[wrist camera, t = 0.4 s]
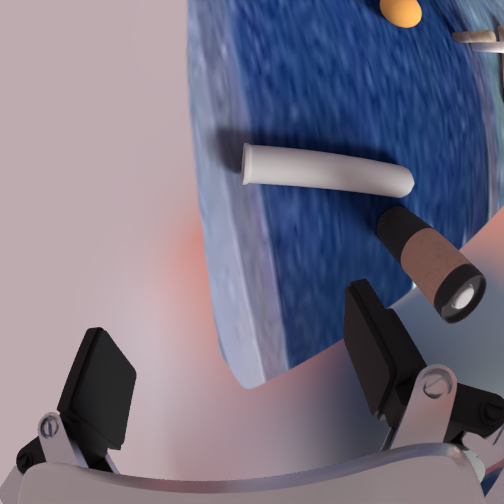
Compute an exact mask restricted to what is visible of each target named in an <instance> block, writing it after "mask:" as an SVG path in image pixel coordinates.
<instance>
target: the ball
mask: <svg viewBox="0 0 504 504" xmlns="http://www.w3.org/2000/svg"><path fill="white" fill-rule="evenodd" d="M380 9H381V12H382V14H383V15H384V17H385V18H386V19H387V20H388V21H389V22H391V23H392V24H394V25H396V26H399V27H412V26H415V25H416V24H417V23H418V22H419V21H420V19H421V8H420V6H419V4H418V3H417V1H416V0H380Z"/></svg>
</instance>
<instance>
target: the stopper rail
mask: <svg viewBox="0 0 504 504" xmlns="http://www.w3.org/2000/svg"><path fill="white" fill-rule="evenodd" d="M497 27H498V33H499V39H500V42H504V26H497ZM501 55H502V66H503V86H504V53H501Z"/></svg>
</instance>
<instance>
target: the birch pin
mask: <svg viewBox="0 0 504 504" xmlns="http://www.w3.org/2000/svg"><path fill="white" fill-rule="evenodd" d="M452 38H453V40H454V41H455V42H456V43H468V42H496V36H495V34H494V33H493V31H491V30H482V31H465V32H454V33H452Z"/></svg>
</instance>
